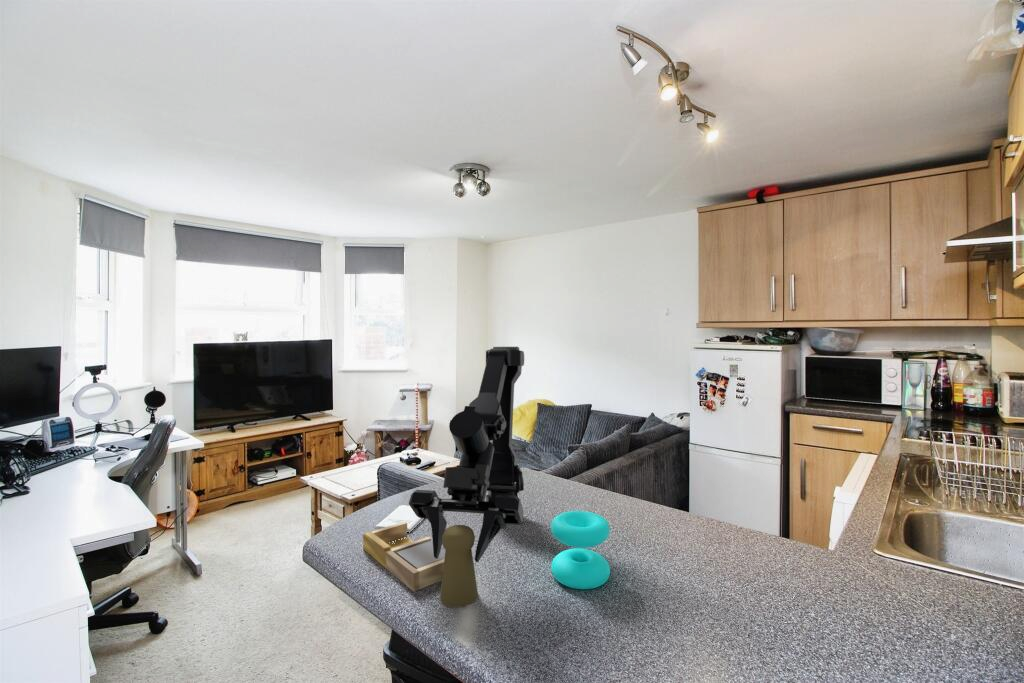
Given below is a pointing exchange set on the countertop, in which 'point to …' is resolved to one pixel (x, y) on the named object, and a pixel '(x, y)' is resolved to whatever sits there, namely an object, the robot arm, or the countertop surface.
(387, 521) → the external hard drive
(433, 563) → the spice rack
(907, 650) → the countertop surface
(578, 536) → the donuts
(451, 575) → the olive brown pawn
